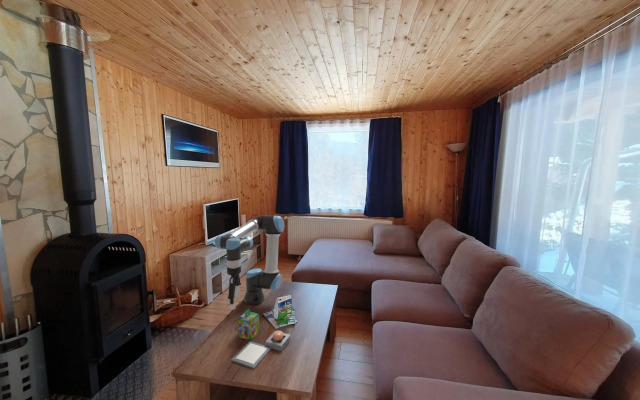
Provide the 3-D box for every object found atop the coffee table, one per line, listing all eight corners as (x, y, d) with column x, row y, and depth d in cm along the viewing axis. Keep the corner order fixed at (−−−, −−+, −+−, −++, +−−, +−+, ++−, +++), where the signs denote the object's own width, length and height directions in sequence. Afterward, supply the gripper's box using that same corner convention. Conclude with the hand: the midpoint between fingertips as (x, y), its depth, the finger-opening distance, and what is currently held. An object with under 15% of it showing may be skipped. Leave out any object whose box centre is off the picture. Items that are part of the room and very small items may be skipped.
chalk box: (250, 341, 138) (250, 316, 136) (237, 337, 141) (236, 313, 139) (260, 331, 146) (259, 308, 145) (247, 328, 149) (246, 305, 148)
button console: (275, 335, 143) (275, 330, 142) (290, 339, 139) (290, 334, 139) (265, 346, 133) (265, 341, 133) (281, 351, 130) (281, 346, 129)
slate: (250, 342, 136) (250, 340, 136) (271, 348, 131) (271, 347, 131) (231, 360, 123) (231, 359, 122) (254, 369, 117) (254, 367, 117)
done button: (276, 333, 139) (276, 329, 139) (285, 336, 137) (285, 332, 137) (271, 339, 134) (271, 335, 134) (279, 342, 132) (279, 338, 132)
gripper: (231, 258, 147) (232, 292, 149) (221, 275, 122) (222, 315, 124) (244, 258, 148) (245, 291, 150) (236, 274, 123) (237, 314, 125)
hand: (235, 302), depth 137 cm, fingers open, 13 cm apart
